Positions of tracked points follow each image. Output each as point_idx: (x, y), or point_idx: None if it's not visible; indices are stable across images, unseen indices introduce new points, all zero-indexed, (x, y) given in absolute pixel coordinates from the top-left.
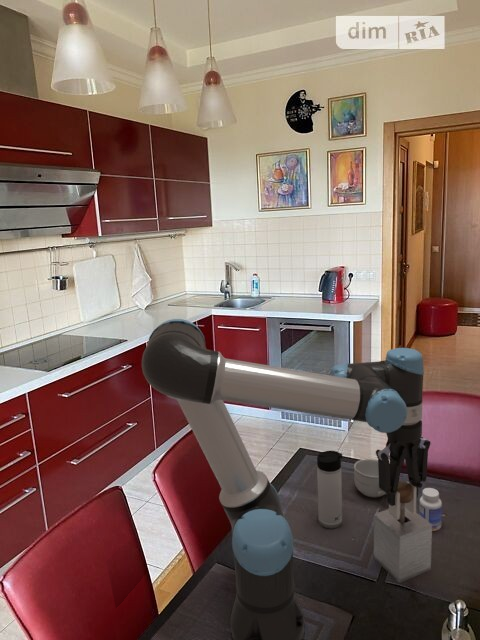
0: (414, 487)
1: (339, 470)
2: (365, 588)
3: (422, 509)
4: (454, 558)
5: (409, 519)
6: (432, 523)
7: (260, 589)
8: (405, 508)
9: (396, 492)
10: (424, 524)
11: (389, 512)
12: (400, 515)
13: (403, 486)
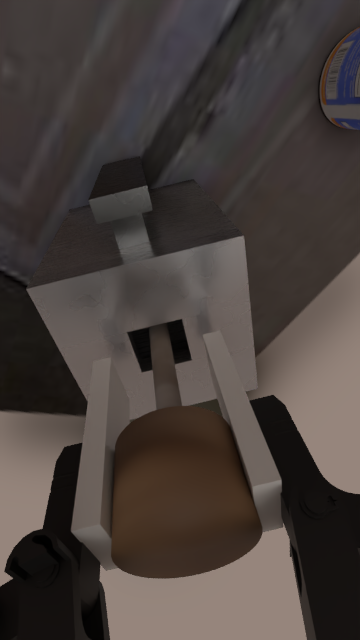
0: (270, 527)
1: None
2: (14, 313)
3: None
4: (297, 261)
5: (191, 352)
6: (352, 127)
7: None
8: (220, 278)
9: (100, 584)
10: None
11: (94, 369)
12: (152, 362)
13: (191, 546)
